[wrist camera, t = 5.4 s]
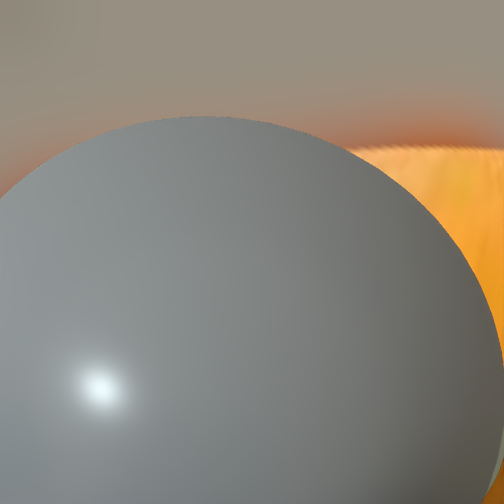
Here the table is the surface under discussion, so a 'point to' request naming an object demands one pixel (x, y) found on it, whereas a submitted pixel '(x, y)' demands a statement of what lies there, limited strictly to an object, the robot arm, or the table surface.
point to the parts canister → (237, 328)
